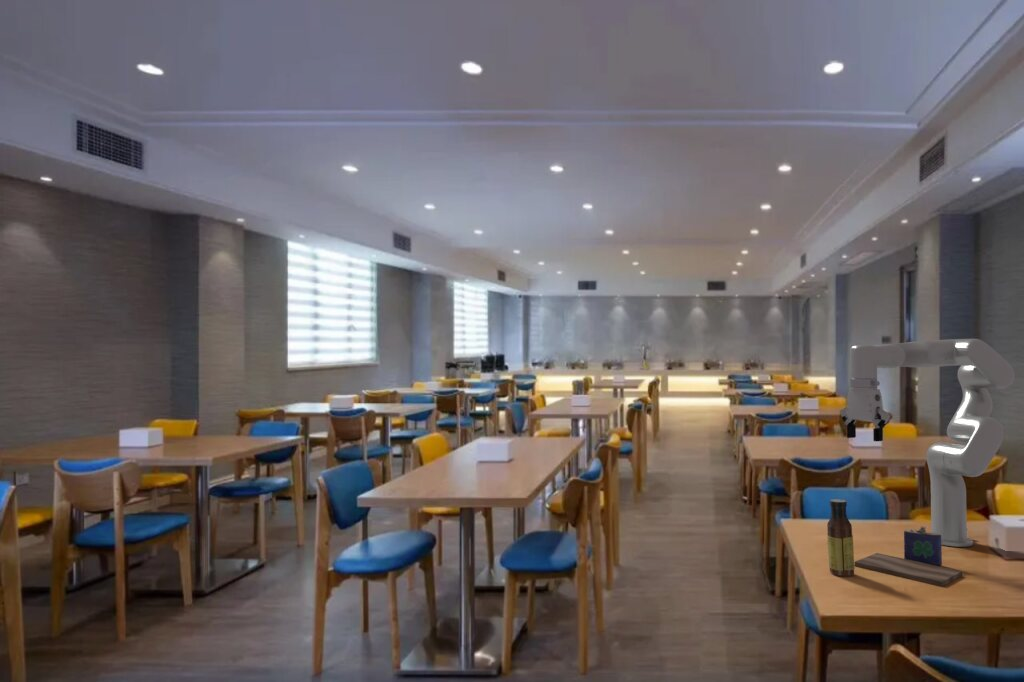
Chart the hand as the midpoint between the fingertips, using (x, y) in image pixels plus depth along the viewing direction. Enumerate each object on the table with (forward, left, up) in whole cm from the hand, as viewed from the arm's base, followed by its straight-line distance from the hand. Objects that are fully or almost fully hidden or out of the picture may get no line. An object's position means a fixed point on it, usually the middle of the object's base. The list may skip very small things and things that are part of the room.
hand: (864, 439), depth 210 cm
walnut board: (+15, +18, -33) cm, 41 cm away
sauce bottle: (+32, +8, -34) cm, 47 cm away
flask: (+5, +18, -34) cm, 38 cm away
